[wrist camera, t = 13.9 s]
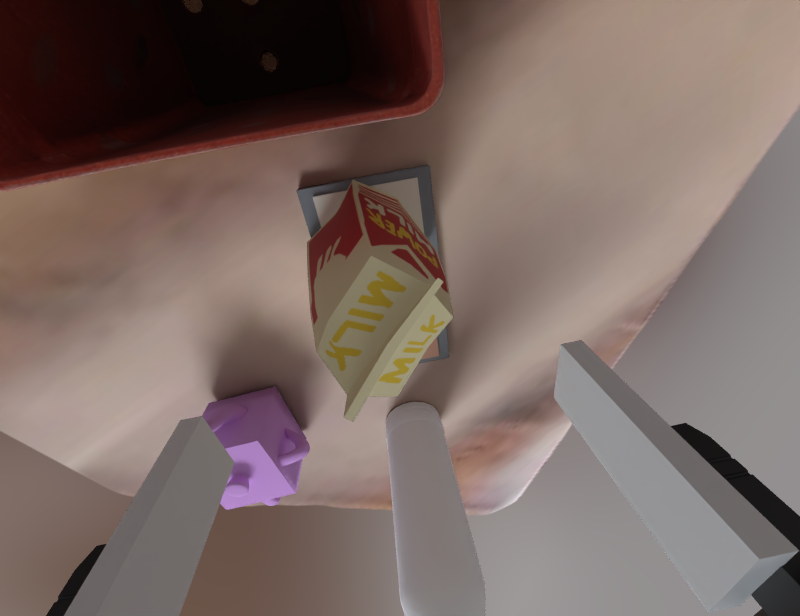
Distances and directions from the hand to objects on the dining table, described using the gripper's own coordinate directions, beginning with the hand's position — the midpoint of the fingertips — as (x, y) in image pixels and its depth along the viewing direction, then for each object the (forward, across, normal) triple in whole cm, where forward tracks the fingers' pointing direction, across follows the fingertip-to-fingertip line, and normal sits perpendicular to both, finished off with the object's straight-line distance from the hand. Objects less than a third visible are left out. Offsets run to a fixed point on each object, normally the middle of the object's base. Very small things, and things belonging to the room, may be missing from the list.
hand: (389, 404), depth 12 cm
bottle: (+23, 0, -28) cm, 36 cm away
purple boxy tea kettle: (+23, -19, -21) cm, 36 cm away
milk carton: (+22, 0, 0) cm, 22 cm away
